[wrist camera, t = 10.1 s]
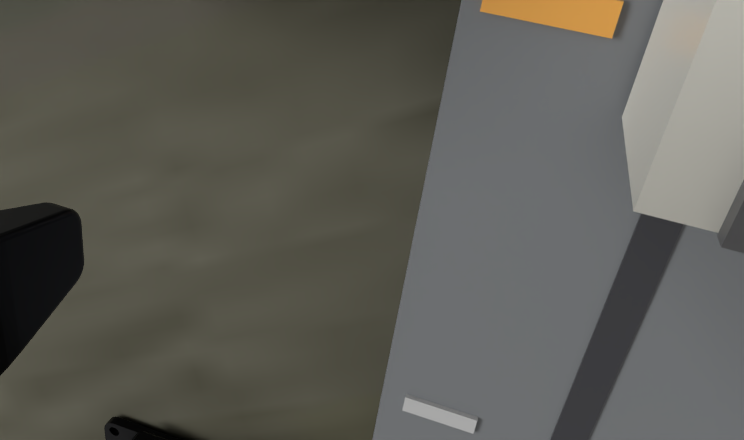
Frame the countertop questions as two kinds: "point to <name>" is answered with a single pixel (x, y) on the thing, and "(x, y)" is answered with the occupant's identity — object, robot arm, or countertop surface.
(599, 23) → the slider track base
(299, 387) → the countertop surface
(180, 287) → the countertop surface
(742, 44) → the fader cap
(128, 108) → the countertop surface
